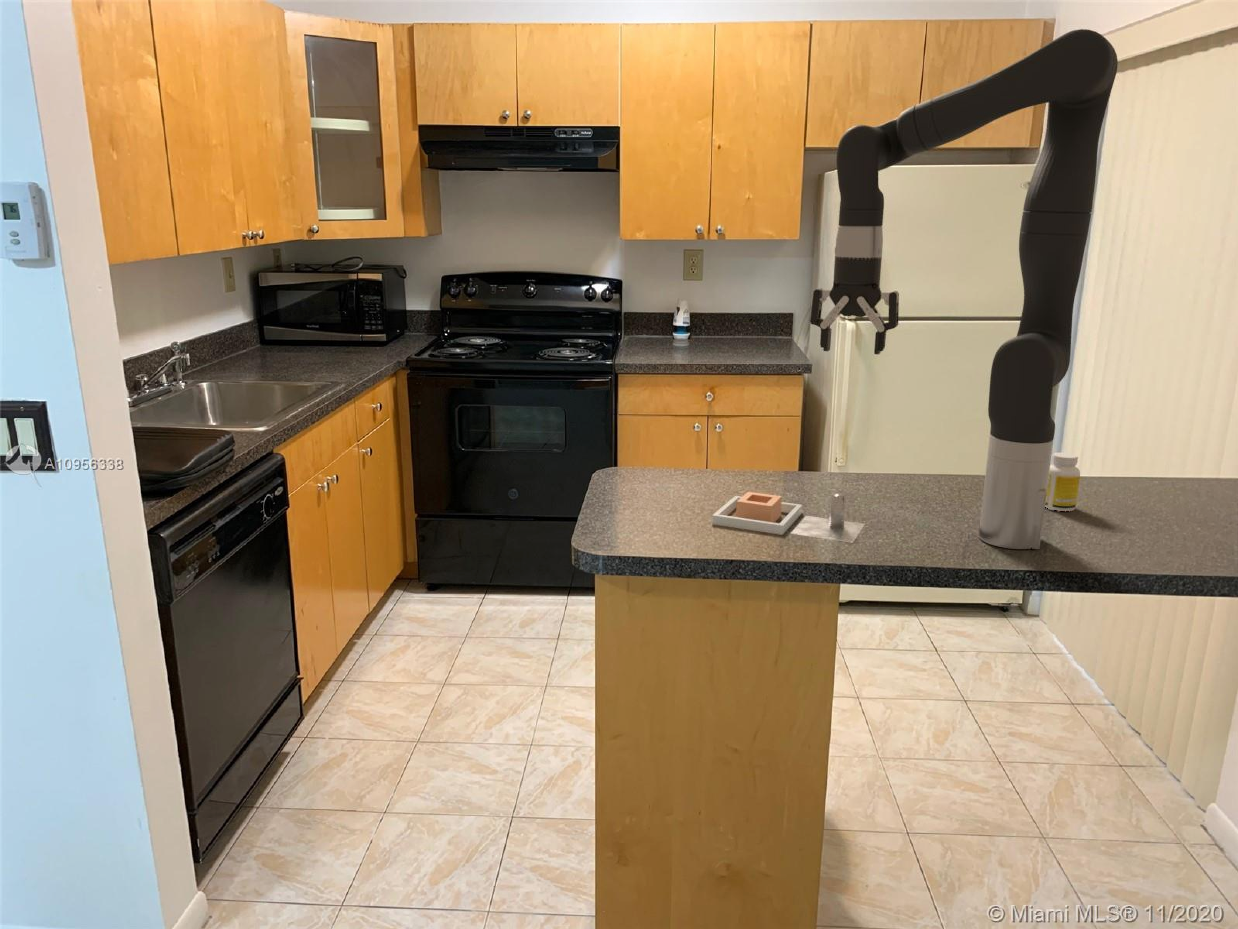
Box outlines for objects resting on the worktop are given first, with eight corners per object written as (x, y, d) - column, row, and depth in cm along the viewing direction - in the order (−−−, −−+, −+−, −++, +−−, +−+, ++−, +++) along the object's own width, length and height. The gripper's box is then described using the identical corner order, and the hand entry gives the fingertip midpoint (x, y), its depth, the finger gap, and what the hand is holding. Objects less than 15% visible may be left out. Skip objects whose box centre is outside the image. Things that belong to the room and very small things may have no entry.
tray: (801, 518, 159) (802, 504, 159) (782, 540, 149) (783, 525, 148) (735, 509, 164) (735, 495, 164) (712, 529, 154) (712, 515, 153)
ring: (780, 518, 158) (781, 496, 157) (770, 529, 152) (771, 506, 151) (746, 513, 160) (747, 491, 159) (735, 523, 155) (736, 501, 154)
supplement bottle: (1081, 509, 164) (1089, 456, 162) (1062, 514, 162) (1069, 460, 159) (1054, 501, 169) (1061, 449, 166) (1035, 506, 166) (1042, 453, 164)
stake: (864, 529, 154) (867, 492, 152) (852, 548, 145) (855, 509, 143) (805, 521, 158) (807, 484, 156) (790, 539, 149) (792, 501, 148)
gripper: (906, 254, 153) (898, 352, 157) (820, 252, 159) (815, 346, 163) (899, 256, 146) (890, 358, 150) (810, 254, 152) (804, 352, 156)
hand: (851, 352), depth 157 cm, fingers open, 8 cm apart
